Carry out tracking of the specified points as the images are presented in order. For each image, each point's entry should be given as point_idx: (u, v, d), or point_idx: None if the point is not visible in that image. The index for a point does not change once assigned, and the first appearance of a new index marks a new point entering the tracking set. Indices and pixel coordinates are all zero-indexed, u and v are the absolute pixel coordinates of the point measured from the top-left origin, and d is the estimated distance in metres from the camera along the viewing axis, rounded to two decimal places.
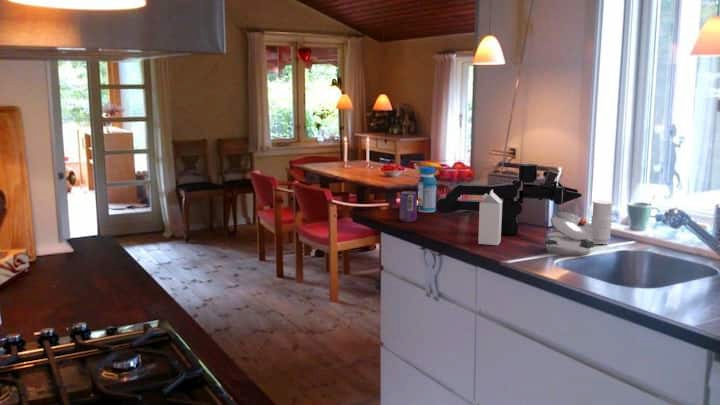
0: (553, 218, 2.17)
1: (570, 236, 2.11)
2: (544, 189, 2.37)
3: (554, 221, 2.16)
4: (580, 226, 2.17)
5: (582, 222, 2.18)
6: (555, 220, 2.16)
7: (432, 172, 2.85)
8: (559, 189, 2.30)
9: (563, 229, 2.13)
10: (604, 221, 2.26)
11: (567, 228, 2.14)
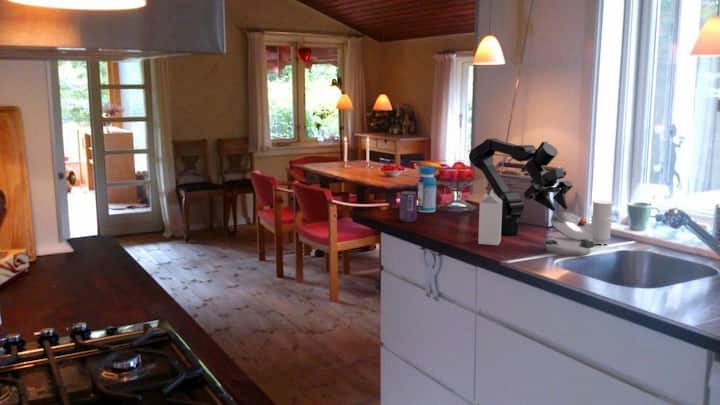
0: (553, 218, 2.17)
1: (570, 236, 2.11)
2: (539, 178, 2.25)
3: (554, 221, 2.16)
4: (580, 226, 2.17)
5: (582, 222, 2.18)
6: (555, 220, 2.16)
7: (432, 172, 2.85)
8: (533, 187, 2.18)
9: (563, 229, 2.13)
10: (604, 221, 2.26)
11: (567, 228, 2.14)
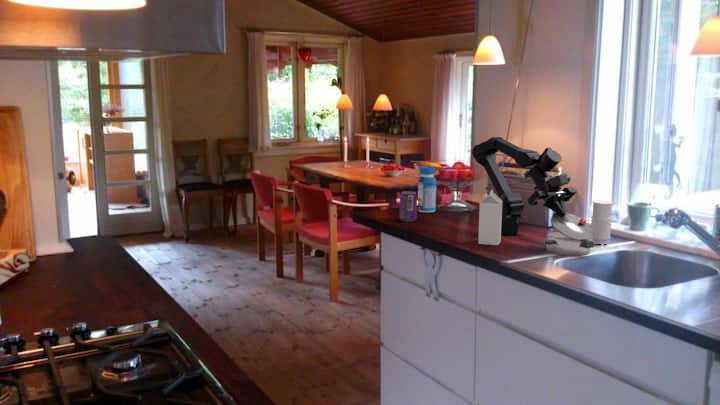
0: (553, 218, 2.17)
1: (570, 236, 2.11)
2: (543, 184, 2.23)
3: (554, 221, 2.16)
4: (579, 226, 2.17)
5: (582, 222, 2.18)
6: (555, 220, 2.16)
7: (432, 172, 2.85)
8: (536, 194, 2.17)
9: (563, 229, 2.13)
10: (604, 221, 2.26)
11: (567, 228, 2.14)
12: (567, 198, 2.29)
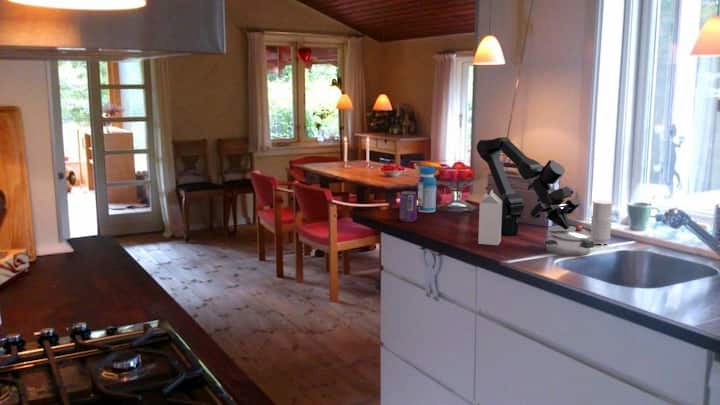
0: (549, 229, 2.19)
1: (569, 238, 2.12)
2: (546, 197, 2.23)
3: (550, 231, 2.17)
4: (577, 231, 2.18)
5: (578, 228, 2.19)
6: (551, 230, 2.18)
7: (432, 172, 2.85)
8: (539, 207, 2.16)
9: (560, 234, 2.14)
10: (604, 221, 2.26)
11: (564, 233, 2.15)
12: (570, 210, 2.28)
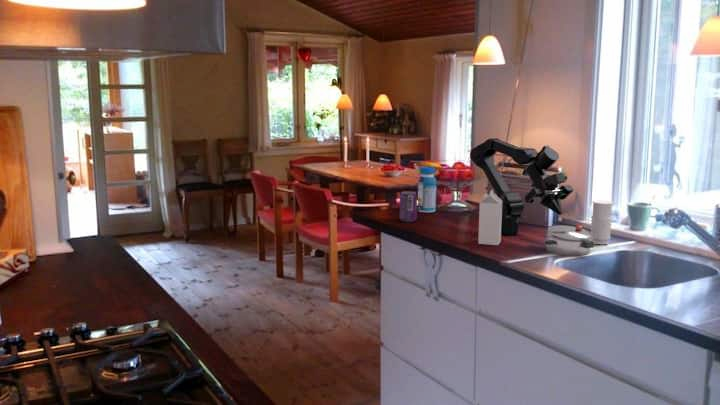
0: (549, 229, 2.19)
1: (569, 238, 2.12)
2: (540, 182, 2.24)
3: (550, 231, 2.17)
4: (577, 231, 2.18)
5: (578, 228, 2.19)
6: (551, 230, 2.18)
7: (432, 172, 2.85)
8: (533, 192, 2.18)
9: (560, 234, 2.14)
10: (604, 221, 2.26)
11: (564, 233, 2.15)
12: (564, 196, 2.30)
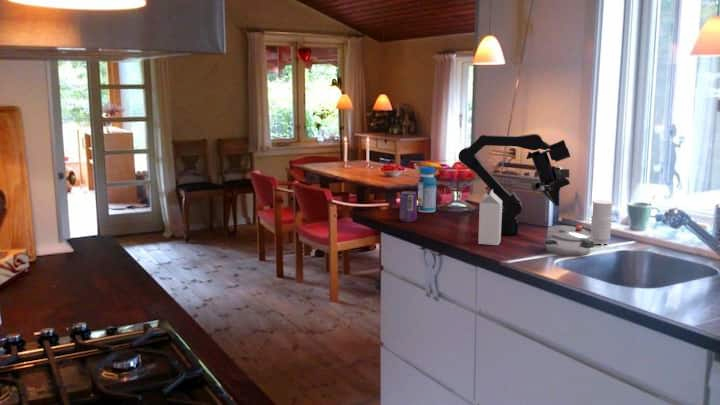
0: (549, 229, 2.19)
1: (569, 238, 2.12)
2: (552, 172, 2.35)
3: (550, 231, 2.17)
4: (577, 231, 2.18)
5: (578, 228, 2.19)
6: (551, 230, 2.18)
7: (432, 172, 2.85)
8: (568, 181, 2.29)
9: (560, 234, 2.14)
10: (604, 221, 2.26)
11: (564, 233, 2.15)
12: None
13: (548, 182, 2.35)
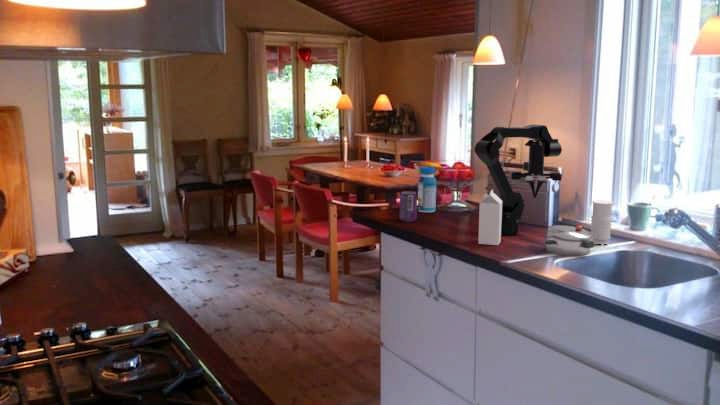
0: (549, 229, 2.19)
1: (569, 238, 2.12)
2: None
3: (550, 231, 2.17)
4: (577, 231, 2.18)
5: (578, 228, 2.19)
6: (551, 230, 2.18)
7: (432, 172, 2.85)
8: None
9: (560, 234, 2.14)
10: (604, 221, 2.26)
11: (564, 233, 2.15)
12: None
13: (542, 173, 2.45)
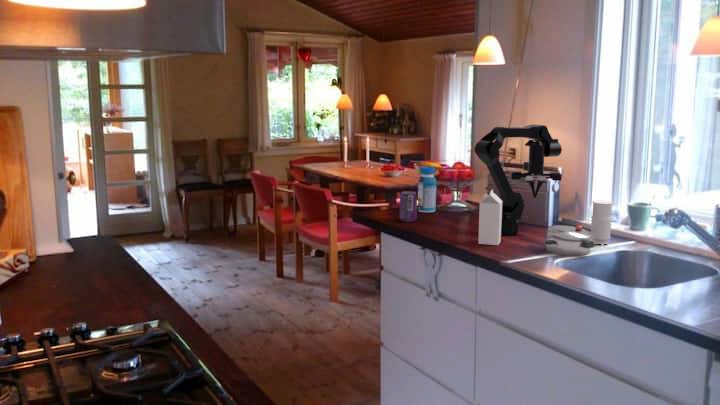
0: (549, 229, 2.19)
1: (569, 238, 2.12)
2: None
3: (550, 231, 2.17)
4: (577, 231, 2.18)
5: (578, 228, 2.19)
6: (551, 230, 2.18)
7: (432, 172, 2.85)
8: None
9: (560, 234, 2.14)
10: (604, 221, 2.26)
11: (564, 233, 2.15)
12: None
13: (542, 173, 2.45)
